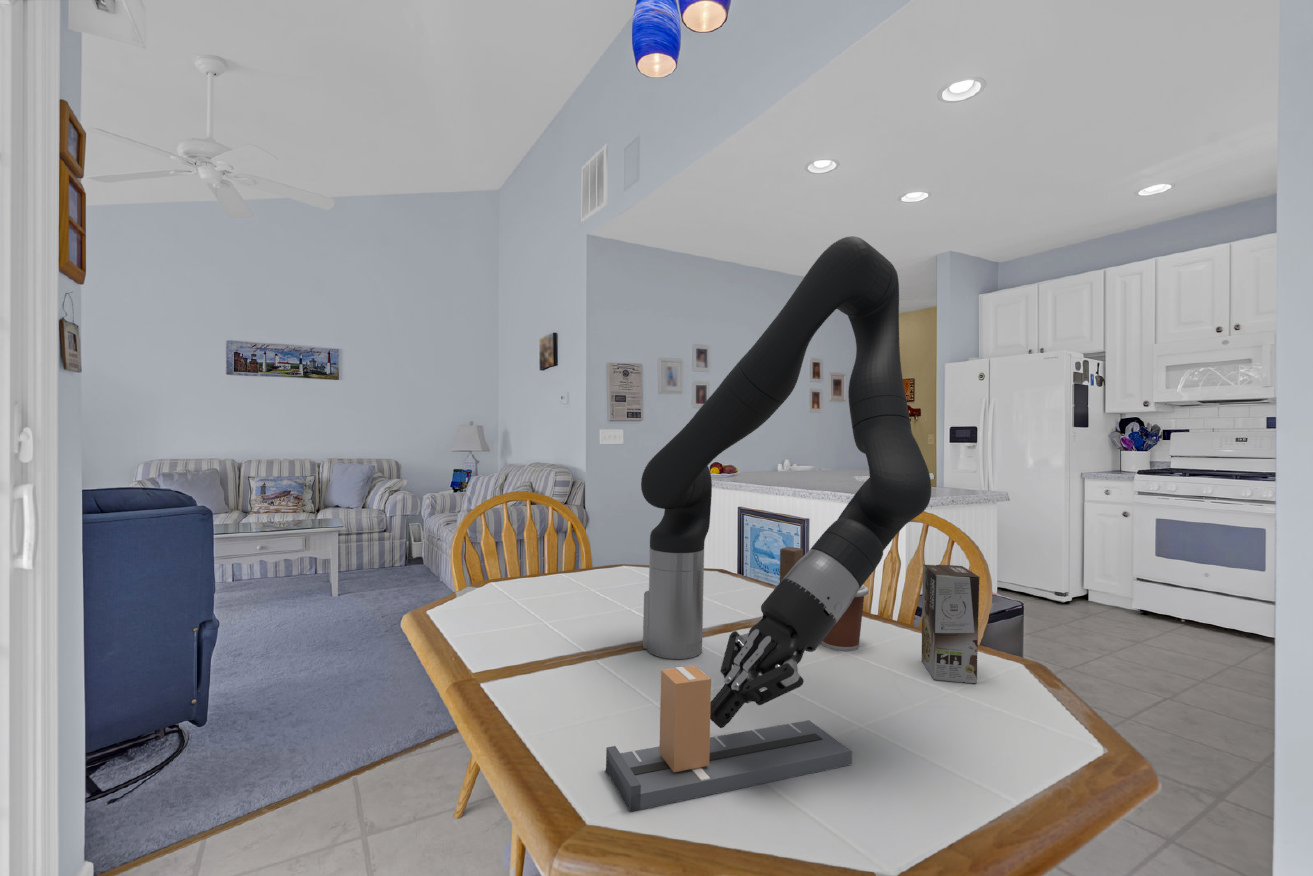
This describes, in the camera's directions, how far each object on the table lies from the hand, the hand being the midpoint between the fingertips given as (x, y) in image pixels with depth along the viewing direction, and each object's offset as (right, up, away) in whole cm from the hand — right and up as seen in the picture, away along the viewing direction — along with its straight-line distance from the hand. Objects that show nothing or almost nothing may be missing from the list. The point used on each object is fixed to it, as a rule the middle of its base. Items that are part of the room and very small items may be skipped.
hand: (712, 721), depth 67 cm
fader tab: (-3, -4, -1) cm, 5 cm away
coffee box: (+40, -7, +31) cm, 51 cm away
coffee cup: (+26, -6, +43) cm, 51 cm away
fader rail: (+2, -5, +1) cm, 6 cm away
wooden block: (+21, -6, +52) cm, 56 cm away
